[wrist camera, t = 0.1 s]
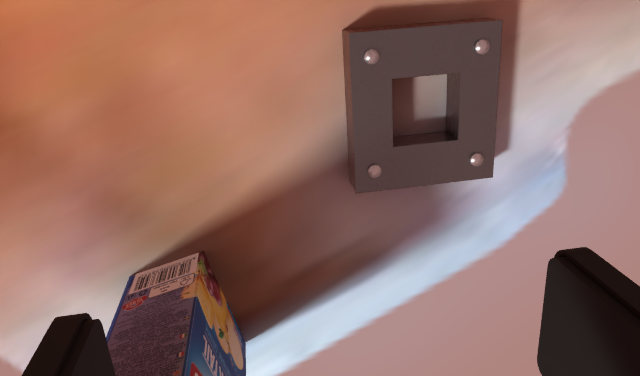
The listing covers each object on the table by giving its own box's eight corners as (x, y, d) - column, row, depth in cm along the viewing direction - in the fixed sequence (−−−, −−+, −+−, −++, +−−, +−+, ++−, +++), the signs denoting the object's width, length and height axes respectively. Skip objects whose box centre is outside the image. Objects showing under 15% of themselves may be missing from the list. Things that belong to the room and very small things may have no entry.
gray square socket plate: (342, 30, 44) (349, 33, 41) (486, 18, 45) (504, 20, 42) (349, 181, 49) (356, 194, 46) (479, 166, 51) (494, 178, 48)
